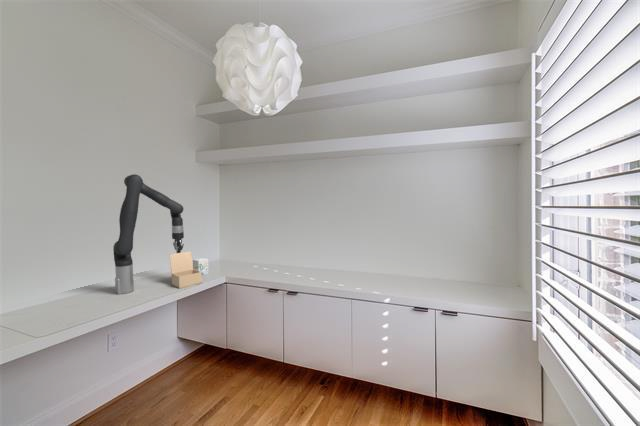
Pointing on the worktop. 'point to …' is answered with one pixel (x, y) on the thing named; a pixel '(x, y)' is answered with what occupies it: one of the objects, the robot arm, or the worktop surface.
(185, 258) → the lid
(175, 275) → the carton
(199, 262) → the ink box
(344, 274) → the worktop surface
